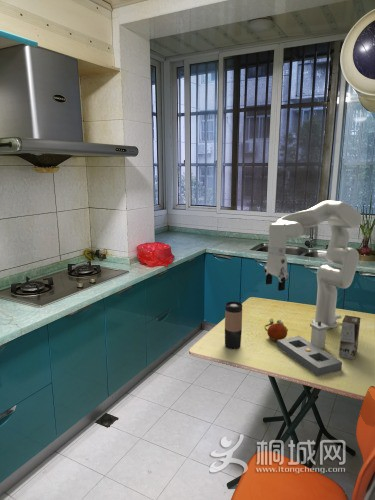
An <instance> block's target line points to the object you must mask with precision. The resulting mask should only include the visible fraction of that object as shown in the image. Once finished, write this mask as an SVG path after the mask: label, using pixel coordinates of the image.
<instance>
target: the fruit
mask: <svg viewBox="0 0 375 500" xmlns="http://www.w3.org/2000/svg"><path fill="white" fill-rule="evenodd" d="M283 325H284V324H283ZM283 325H281V324H279V323H277V322H276V323H272V325H268V326H269V327H268V328H267V330H268V331H266V332H267V336H268V337H269V338H271V340H274V341H276V342H278V340H280V339H285V338H287V336H288V331H287V329H286V328H287V327H286V326H285V325H284V326H285V327H286V328H285V327H284V326H283Z"/></svg>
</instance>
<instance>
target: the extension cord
mask: <svg viewBox="0 0 375 500" xmlns="http://www.w3.org/2000/svg"><path fill="white" fill-rule="evenodd" d="M276 323H279V324H281V325H283V326H284V327H285V328H286V330H287V332H288V328H287V326H285V324H284V322H283V321H282V319H277V321H276ZM272 324H274V318H270V319H269V323H268V324H266V325H264V329H265V331H266V332H267V331H268V328H266V327H267V326H271V325H272Z"/></svg>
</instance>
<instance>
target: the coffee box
mask: <svg viewBox="0 0 375 500" xmlns="http://www.w3.org/2000/svg"><path fill="white" fill-rule="evenodd" d="M361 319H362V318H361V317H359V316H353V315H347V314H345V315H344V318H343V320H342V324H341V331H340V341H339V351H338V356H339V357H342V358H346V359H350V360H353V359H354V360H355V359H356V358H355V357H356V354H357V353H356V352H358V344H359V336H360V327H361Z"/></svg>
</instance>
